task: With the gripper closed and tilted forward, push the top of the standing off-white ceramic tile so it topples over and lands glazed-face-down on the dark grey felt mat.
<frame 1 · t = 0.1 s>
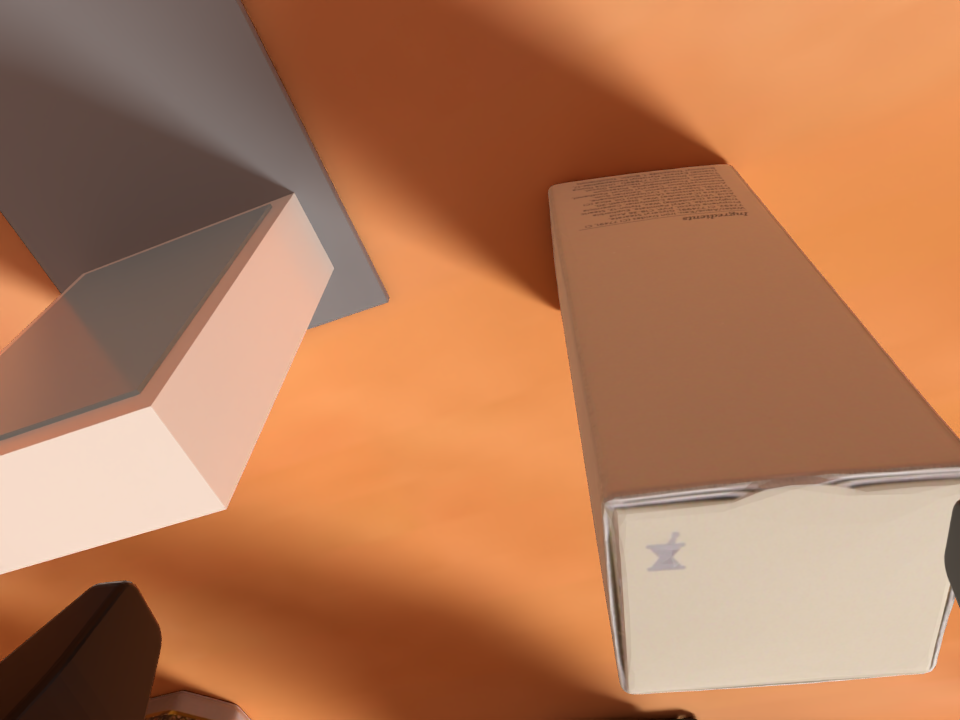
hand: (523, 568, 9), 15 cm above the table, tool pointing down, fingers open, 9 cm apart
ceramic cup: (204, 714, 35), on the table
tile: (207, 270, 23), resting on mat
mat: (125, 129, 21), on the table
box: (646, 238, 22), on the table
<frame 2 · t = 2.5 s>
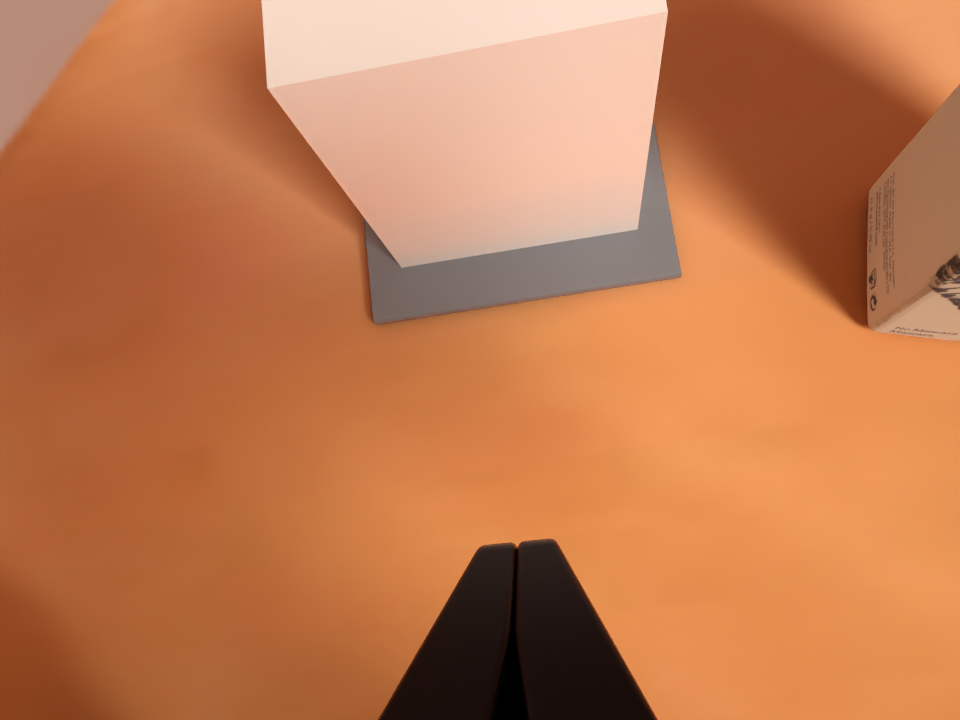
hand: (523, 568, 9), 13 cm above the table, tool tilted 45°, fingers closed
tile: (512, 211, 24), resting on mat
mat: (495, 88, 25), on the table
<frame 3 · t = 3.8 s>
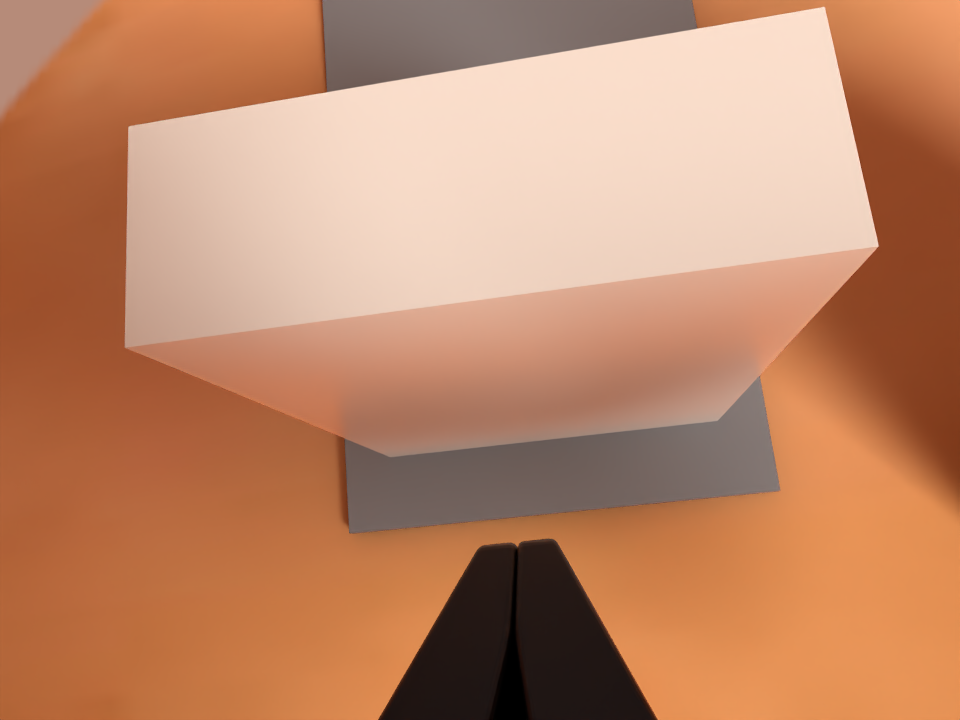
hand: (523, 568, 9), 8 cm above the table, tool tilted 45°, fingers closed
tile: (543, 384, 17), resting on mat
mat: (523, 208, 19), on the table
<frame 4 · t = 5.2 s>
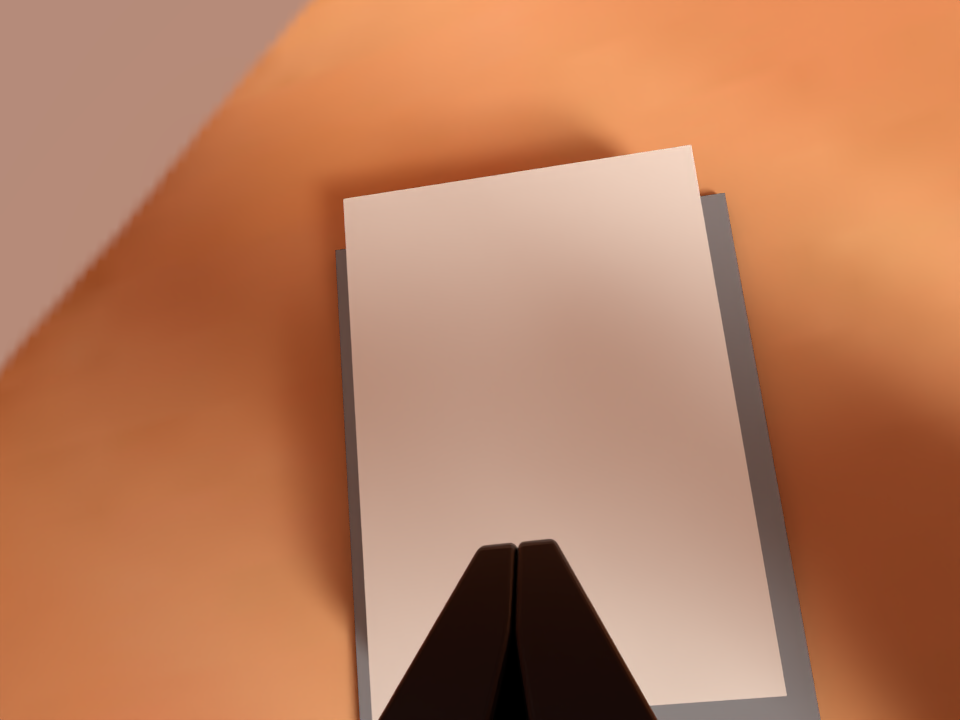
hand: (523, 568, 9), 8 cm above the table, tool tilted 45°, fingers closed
tile: (575, 698, 15), point 2 cm above the table, tilted 90°, touching mat
mat: (560, 533, 17), on the table
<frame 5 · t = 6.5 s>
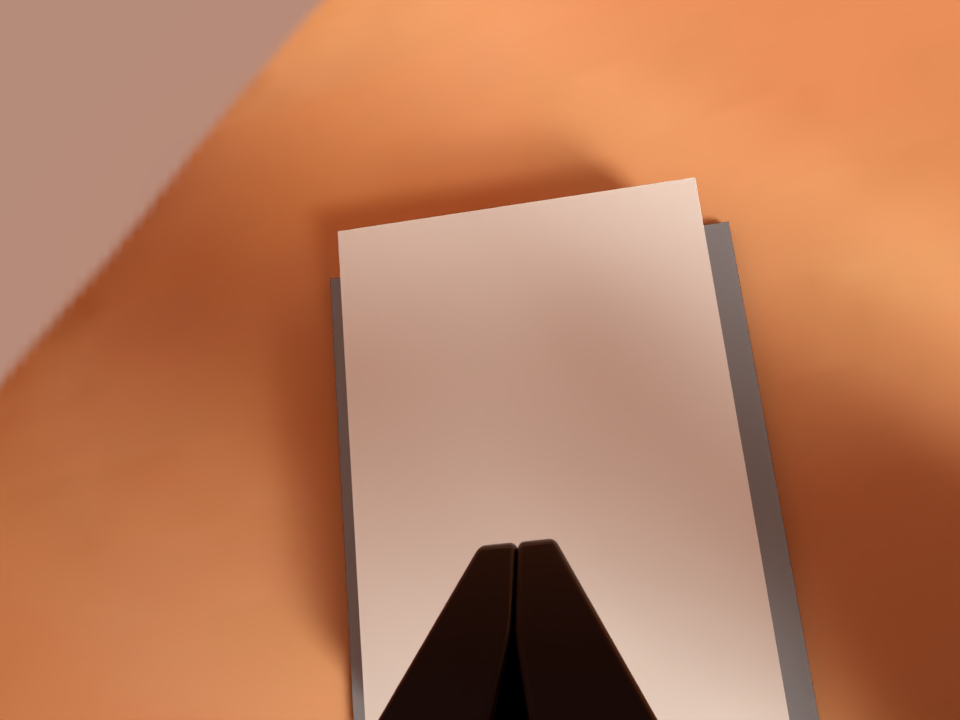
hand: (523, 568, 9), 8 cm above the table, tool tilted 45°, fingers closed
mat: (561, 572, 16), on the table
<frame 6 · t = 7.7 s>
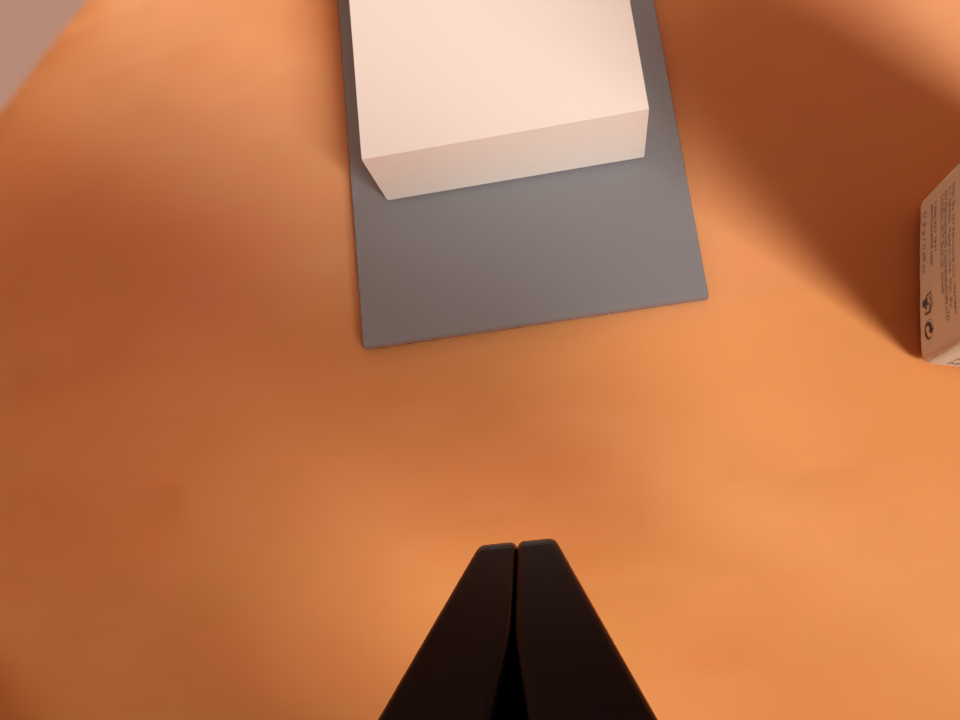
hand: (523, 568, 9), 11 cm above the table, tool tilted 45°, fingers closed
tile: (507, 158, 20), point 2 cm above the table, tilted 90°, touching mat
mat: (502, 89, 22), on the table
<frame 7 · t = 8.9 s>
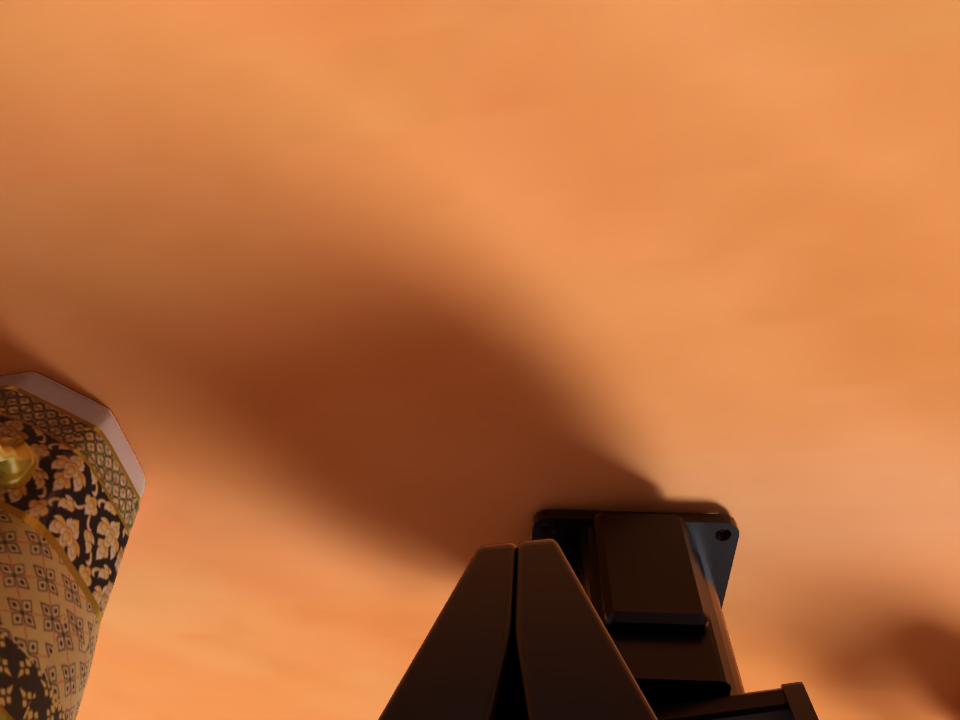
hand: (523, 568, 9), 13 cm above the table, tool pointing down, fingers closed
ceramic cup: (58, 422, 25), on the table
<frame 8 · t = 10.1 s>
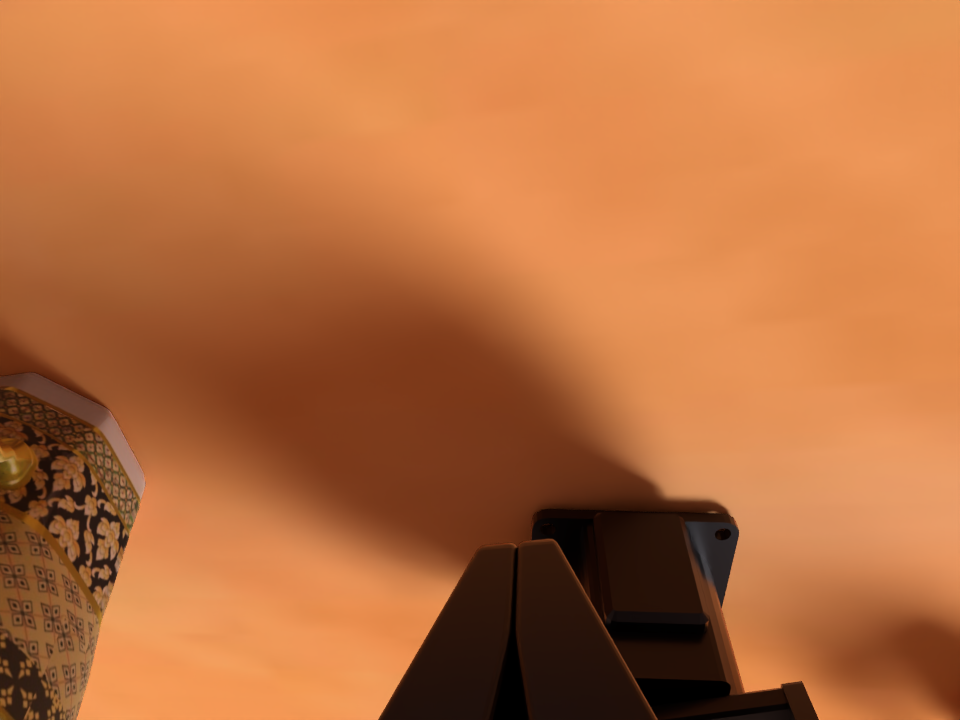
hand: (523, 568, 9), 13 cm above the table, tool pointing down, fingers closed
ceramic cup: (58, 423, 25), on the table
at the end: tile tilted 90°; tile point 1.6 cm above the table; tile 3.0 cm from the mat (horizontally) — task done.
